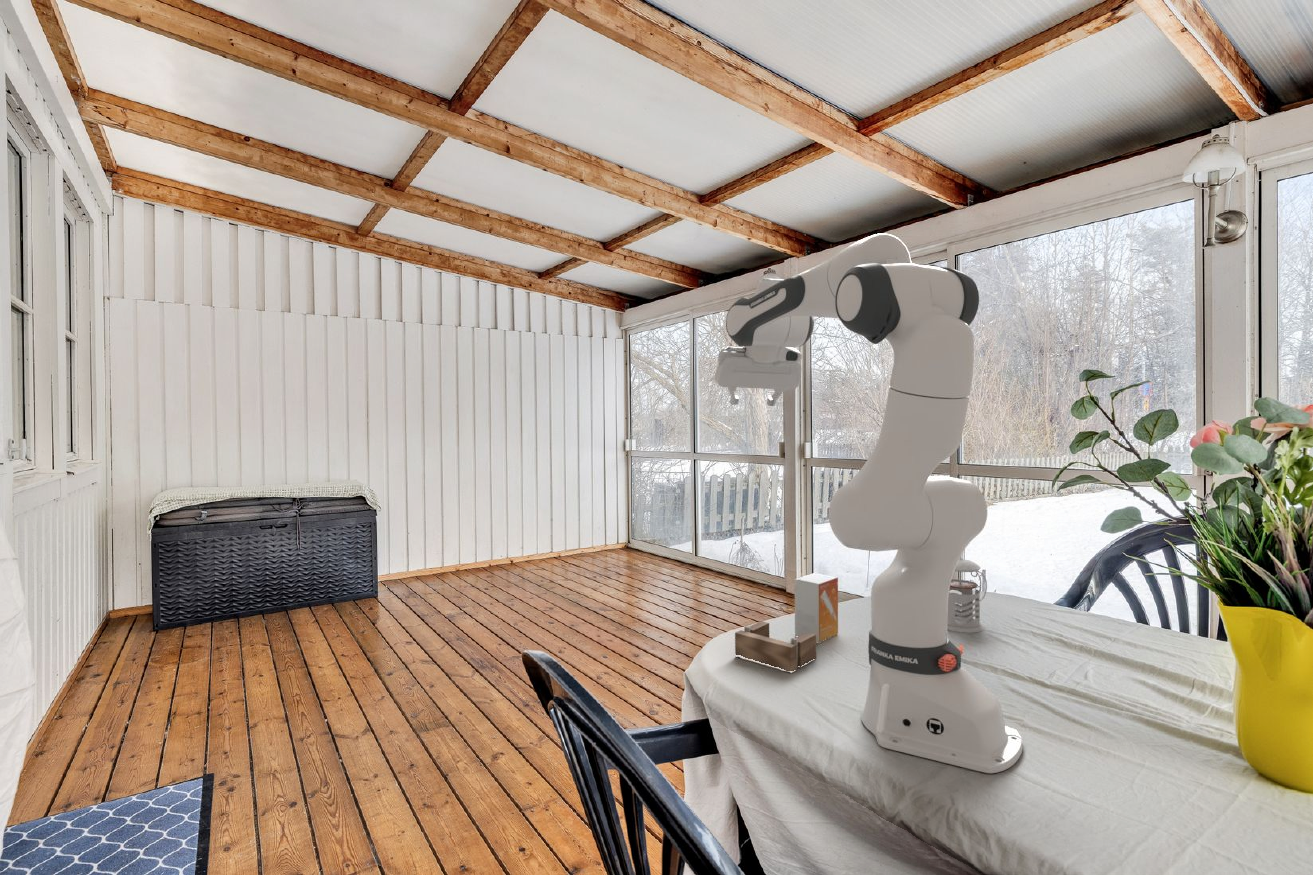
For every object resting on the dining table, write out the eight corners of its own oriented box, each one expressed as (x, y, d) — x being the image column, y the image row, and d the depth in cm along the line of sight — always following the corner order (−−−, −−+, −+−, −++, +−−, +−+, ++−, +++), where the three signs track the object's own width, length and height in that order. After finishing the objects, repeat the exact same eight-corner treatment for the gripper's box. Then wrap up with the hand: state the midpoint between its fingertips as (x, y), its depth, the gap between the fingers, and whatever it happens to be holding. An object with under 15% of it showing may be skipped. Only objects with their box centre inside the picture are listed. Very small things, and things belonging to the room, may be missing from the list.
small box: (819, 644, 136) (818, 583, 136) (794, 637, 141) (793, 578, 140) (839, 634, 142) (838, 576, 141) (814, 628, 146) (813, 571, 146)
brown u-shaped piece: (816, 658, 128) (815, 631, 128) (791, 673, 121) (790, 644, 121) (761, 644, 137) (761, 618, 137) (735, 656, 130) (734, 629, 130)
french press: (927, 621, 150) (927, 515, 149) (967, 615, 153) (967, 511, 152) (959, 634, 140) (958, 521, 139) (1001, 628, 144) (1001, 518, 143)
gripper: (724, 350, 142) (714, 408, 147) (808, 355, 146) (796, 411, 152) (716, 342, 147) (707, 398, 153) (797, 347, 152) (786, 401, 158)
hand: (752, 404), depth 152 cm, fingers open, 8 cm apart
